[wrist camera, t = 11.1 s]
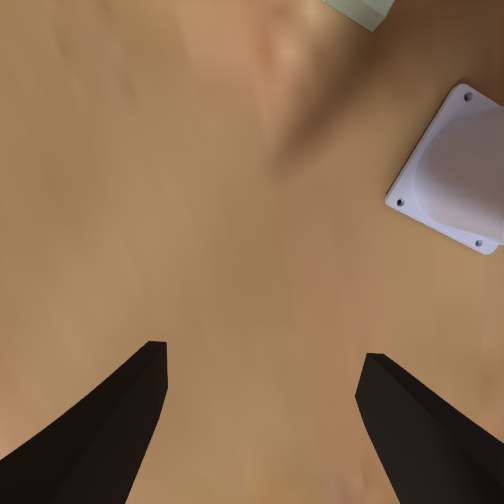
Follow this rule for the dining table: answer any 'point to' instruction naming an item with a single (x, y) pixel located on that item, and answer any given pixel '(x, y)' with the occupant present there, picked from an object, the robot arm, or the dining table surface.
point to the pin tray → (363, 11)
